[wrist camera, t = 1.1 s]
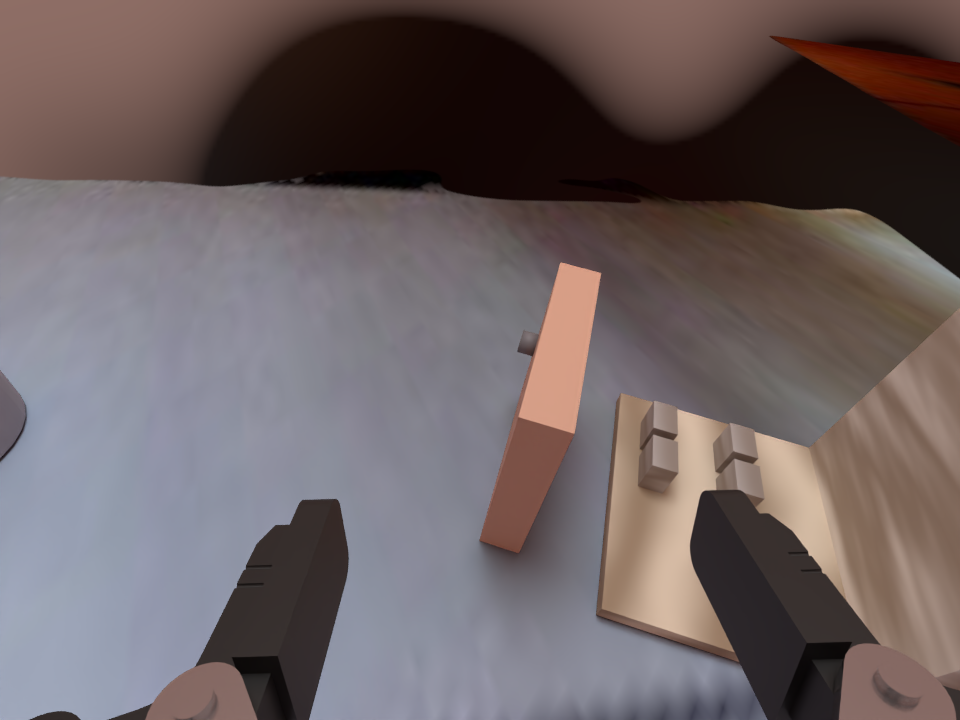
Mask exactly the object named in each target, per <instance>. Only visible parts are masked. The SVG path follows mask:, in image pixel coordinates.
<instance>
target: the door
mask: <svg viewBox="0 0 960 720" xmlns="http://www.w3.org/2000/svg"><path fill="white" fill-rule="evenodd" d="M600 276H601V273H598V272H594V271H591V270H587V269H583V268H579V267H576V266H572V265H568V264H565V263H560V266H559V270H558V273H557V276H556V279H555V283H554V286H553V289H552V293H551V296H550V299H549V302H548V306H547V309H546V312H545V316H544V319H543V322H542V325H541V329H540V332H539V335H538V334H535V333H531V332H528V331H523V334H522V337H521V340H520V344H519V347H518V351H517V352H520V353H523V354H527V355H530V356H532V358H531V362H530V365H529V368H528V371H527V375H526V378H525V381H524V385H523V388H522V391H521V394H520V398H519V402H518V405H517V409H516V412H515V416H514V419H513V423H512V427H511V430H510V434H509V437H508V441H507V444H506V448H505V451H504V455H503V459H502V462H501V466H500V469H499V473H498V476H497V480H496V484H495V487H494V491H493V494H492V498H491V501H490V505H489V508H488V512H487V516H486V519H485V523H484V526H483V530H482V533H481V537H480V540H479V541H482V542H485V543H488V544H491V545H494V546H497V547H500V548H504V549H507V550H510V551H513V552H516V553H519V552H520V550H521V548H522V546H523V543H524V541H525V539H526V537H527V535H528V533H529V531H530V528H531V526H532V524H533V522H534V520H535V518H536V515H537V513H538V511H539V509H540V507H541V505H542V503H543V500H544V498H545V496H546V494H547V492H548V490H549V487H550V485H551V483H552V481H553V479H554V477H555V475H556V472H557V470H558V468H559V466H560V464H561V462H562V460H563V457H564V455H565V453H566V451H567V449H568V447H569V444H570V442H571V440H572V438H573V436H574V434H575V428H576V421H577V415H578V409H579V403H580V397H581V391H582V385H583V379H584V373H585V367H586V361H587V355H588V349H589V343H590V337H591V331H592V325H593V318H594V312H595V306H596V300H597V294H598V288H599V282H600Z"/></svg>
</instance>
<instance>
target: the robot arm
mask: <svg viewBox="0 0 960 720" xmlns="http://www.w3.org/2000/svg"><path fill="white" fill-rule="evenodd" d="M25 417H26V411H25V404H24V401H23V399H22V397H21V395H20V394H19V393H18V392H17V390H16V389H15V388H14V387H13V385H12V384H11V383H10V382H9V380H8V379H7V378H6V377H5V375H4V374H3V373H2V372H1V370H0V458H1V457H2V456H3V455H4V454H5V452H6V451H7V450H8V449H9V448H10V447H11V446H12V445H13V443H14V442H15V440H16V439H17V437H18V435H19V434H20V432H21V430H22V428H23V424H24V421H25ZM690 555H691V561H692V565H693V568H694V570H695V573H696V575H697V577H698V579H699V581H700V583H701V585H702V587H703V589H704V591H705V593H706V595H707V597H708V599H709V601H710V603H711V605H712V607H713V609H714V611H715V613H716V615H717V617H718V619H719V621H720V624H721V626H722V628H723V630H724V632H725V634H726V636H727V638H728V640H729V642H730V644H731V646H732V648H733V650H734V652H735V654H736V656H737V658H738V660H739V662H740V664H741V666H742V668H743V670H744V672H745V674H746V676H747V678H748V681H749V683H750V685H751V687H752V689H753V691H754V693H755V695H756V697H757V699H758V701H759V703H760V705H761V707H762V709H763V711H764V713H765V715H766V717H767V719H768V720H960V690H956V689H952V688H949V687H946V686H943V685H942V684H941V683H940V682H939V681H938V680H937V679H936V678H935V677H934V675H933V674H931V673H930V672H929V671H928V670H927V669H926V668H925V667H923V666H922V665H920V664H919V663H918V662H916V661H915V660H913V659H912V658H910V657H908V656H907V655H905V654H903V653H901V652H899V651H897V650H894V649H892V648H889V647H886V646H882V645H881V644H880V643H879V642H878V641H877V640H876V638H875V637H874V636H873V635H872V633H871V632H870V631H869V629H868V628H867V627H866V626H865V624H864V623H863V622H862V620H861V619H860V618H859V616H858V615H857V614H856V613H855V611H854V610H853V609H852V607H851V606H850V605H849V604H848V602H847V601H846V600H845V598H844V597H843V596H842V594H841V593H840V592H839V591H838V589H837V588H836V587H835V585H834V584H833V583H832V582H831V580H830V579H829V578H828V576H827V575H826V574H823V573H822V569H821V567H820V566H819V565H818V563H817V562H816V561H815V560H814V558H813V557H812V556H809V554H808V550H807V549H806V548H805V547H804V545H803V544H802V543H801V541H800V540H799V539H798V538H797V536H796V535H795V534H794V532H793V531H792V530H791V529H789V528H788V527H787V526H785V525H784V524H783V523H781V522H780V521H779V520H777V519H776V518H775V517H773V516H772V515H771V514H769V513H759V512H758V511H757V509H756V508H755V506H754V505H753V504H752V502H751V501H750V500H749V498H748V497H747V495H746V494H745V493H744V492H743V491H741V490H705V491H703V492H702V493H701V495H700V499H699V503H698V508H697V512H696V517H695V521H694V526H693V530H692V535H691V540H690ZM348 560H349V557H348V546H347V541H346V536H345V530H344V525H343V519H342V514H341V508H340V504H339V501H338V500H337V499H320V500H302V501H301V502H300V503H299V505H298V507H297V510H296V512H295V514H294V517H293V519H292V521H291V523H290V525H275V526H274V527H273V528H272V529H271V530H270V531H269V532H268V533H267V534H266V535H265V536H264V537H263V538H262V539H261V540H260V541H259V542H258V543H257V545H256V547H255V549H254V551H253V553H252V555H251V557H250V559H249V561H248V563H247V565H246V570H244V571H243V573H242V575H241V577H240V579H239V581H238V583H237V588H235V589H234V591H233V593H232V595H231V597H230V599H229V601H228V603H227V605H226V607H225V609H224V611H223V613H222V615H221V617H220V619H219V621H218V623H217V625H216V627H215V629H214V631H213V633H212V635H211V637H210V639H209V641H208V643H207V645H206V647H205V649H204V651H203V653H202V655H201V657H200V659H199V661H198V662H197V664H196V666H195V667H194V668H192V669H190V670H188V671H186V672H184V673H183V674H181V675H180V676H178V677H177V678H176V679H174V680H173V681H172V682H170V683H169V684H168V685H167V686H166V687H165V688H164V689H163V690H162V692H161V693H160V694H159V695H158V696H157V698H156V699H155V701H154V702H153V703H152V704H150V705H148V706H146V707H143V708H141V709H138V710H135V711H132V712H129V713H126V714H123V715H121V716H118V717H115V718H112V719H109V720H309V717H310V714H311V710H312V706H313V702H314V699H315V695H316V691H317V687H318V684H319V680H320V676H321V672H322V669H323V665H324V661H325V657H326V654H327V650H328V646H329V642H330V639H331V635H332V631H333V627H334V624H335V620H336V616H337V612H338V609H339V605H340V601H341V597H342V594H343V590H344V586H345V582H346V578H347V573H348ZM30 720H80V719H79V718H78V717H77V716H76V715H74V714H73V713H70V712H65V711H57V712H51V713H46V714H43V715H40V716H37V717H35V718H33V719H30Z"/></svg>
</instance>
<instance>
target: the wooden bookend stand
mask: <svg viewBox="0 0 960 720" xmlns="http://www.w3.org/2000/svg"><path fill="white" fill-rule="evenodd" d="M705 490H741V491H743V492H744V493H745V494H746V495H747V497H748V498H749V500H750V501H751V502H752V504H753V505H754V506H755V508H756V509H757V511H758V512H759V513H769V514H771V515H772V516H773V517H775V518H776V519H777V520H779V521H780V522H781V523H783V524H784V525H785V526H787V527H788V528H789V529H791V530H792V531H793V532H794V534H795V535H796V536H797V538H798V539H799V540H800V541H801V543H802V544H803V545H804V547H805V548H806V549H807V550H808V554H809V556H812V557H813V558H814V560H815V561H816V562H817V563H818V565H819V566H820V567H821V569H822V573H823V574H826V575H827V576H828V578H829V579H830V580H831V582H832V583H833V584H834V585H835V587H836V588H837V589H838V591H839V592H840V593H841V594H842V596H843V597H844V598H845V600H846V601H847V602H848V604H849V605H850V606H851V607H852V609H853V610H854V611H855V613H856V614H857V615H858V616H859V618H860V619H861V620H862V622H863V623H864V624H865V626H866V627H867V628H868V629H869V631H870V632H871V633H872V635H873V636H874V637H875V638H876V640H877V641H878V642H879V643H880V644H881V645H882V646H886V647H889V648H892V649H894V650H897V651H899V652H901V653H903V654H905V655H907V656H908V657H910V658H912V659H913V660H915V661H916V662H918V663H919V664H920V665H922V666H923V667H925V668H926V669H927V670H928V671H929V672H930V673H931V674H933V675H934V677H935V678H936V679H937V680H938V681H939V682H940V683H941V684H942V685H943V686H946V687H949V688H952V689H956V690H960V308H959V309H958V310H957V311H956V312H955V313H954V314H953V315H952V316H951V317H950V318H948V319H947V320H946V321H945V322H944V323H943V324H942V325H941V326H940V327H939V328H938V329H937V330H936V331H934V332H933V333H932V334H931V335H930V336H929V337H928V338H927V339H926V340H925V341H924V342H923V343H922V344H920V345H919V346H918V347H917V348H916V349H915V350H914V351H913V352H912V353H911V354H910V355H909V356H908V357H906V358H905V359H904V360H903V361H902V362H901V363H900V364H899V365H898V366H897V367H896V368H895V369H894V370H892V371H891V372H890V373H889V374H888V375H887V376H886V377H885V378H884V379H883V380H882V381H881V382H880V383H878V384H877V385H876V386H875V387H874V388H873V389H872V390H871V391H870V392H869V393H868V394H867V395H866V396H864V397H863V398H862V399H861V400H860V401H859V402H858V403H857V404H856V405H855V406H854V407H853V408H852V409H850V410H849V411H848V412H847V413H846V414H845V415H844V416H843V417H842V418H841V419H840V420H839V421H838V422H836V423H835V424H834V425H833V426H832V427H831V428H830V429H829V430H828V431H827V432H826V433H825V434H824V435H823V436H821V437H820V438H819V439H818V440H817V441H816V442H815V443H814V444H813V445H812V446H811V447H810V448H808V447H804V446H801V445H797V444H794V443H790V442H787V441H784V440H780V439H777V438H773V437H770V436H766V435H763V434H760V433H756V432H754V429H750V428H747V427H743V426H740V425H736V424H733V423H730V424H725V423H722V422H718V421H715V420H712V419H708V418H705V417H701V416H698V415H694V414H691V413H688V412H684V411H681V410H677V407H674V406H671V405H668V404H664V403H661V402H657V401H654V402H650V401H646V400H643V399H639V398H636V397H633V396H629V395H626V394H622V393H621V394H620V396H619V398H618V400H617V402H616V413H615V423H614V434H613V444H612V454H611V465H610V475H609V486H608V496H607V507H606V517H605V528H604V538H603V548H602V559H601V569H600V580H599V590H598V601H597V611H596V615H598V616H601V617H604V618H607V619H610V620H613V621H616V622H619V623H622V624H625V625H628V626H631V627H634V628H637V629H640V630H643V631H646V632H649V633H653V634H656V635H659V636H662V637H665V638H668V639H671V640H674V641H677V642H680V643H683V644H686V645H689V646H692V647H695V648H698V649H701V650H704V651H707V652H710V653H713V654H716V655H719V656H722V657H725V658H728V659H731V660H734V661H737V662H739V660H738V658H737V656H736V654H735V652H734V650H733V648H732V646H731V644H730V642H729V640H728V638H727V636H726V634H725V632H724V630H723V628H722V626H721V624H720V621H719V619H718V617H717V615H716V613H715V611H714V609H713V607H712V605H711V603H710V601H709V599H708V597H707V595H706V593H705V591H704V589H703V587H702V585H701V583H700V581H699V579H698V577H697V575H696V573H695V570H694V568H693V565H692V561H691V555H690V540H691V535H692V530H693V526H694V521H695V517H696V512H697V508H698V503H699V499H700V495H701V493H702V492H703V491H705Z"/></svg>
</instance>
